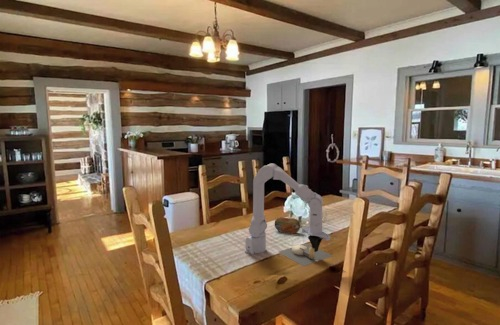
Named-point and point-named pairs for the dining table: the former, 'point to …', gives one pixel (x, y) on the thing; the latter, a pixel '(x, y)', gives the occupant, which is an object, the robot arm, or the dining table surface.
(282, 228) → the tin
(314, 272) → the dining table surface
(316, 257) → the stand plate
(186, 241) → the dining table surface
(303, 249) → the cam dial
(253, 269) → the dining table surface
